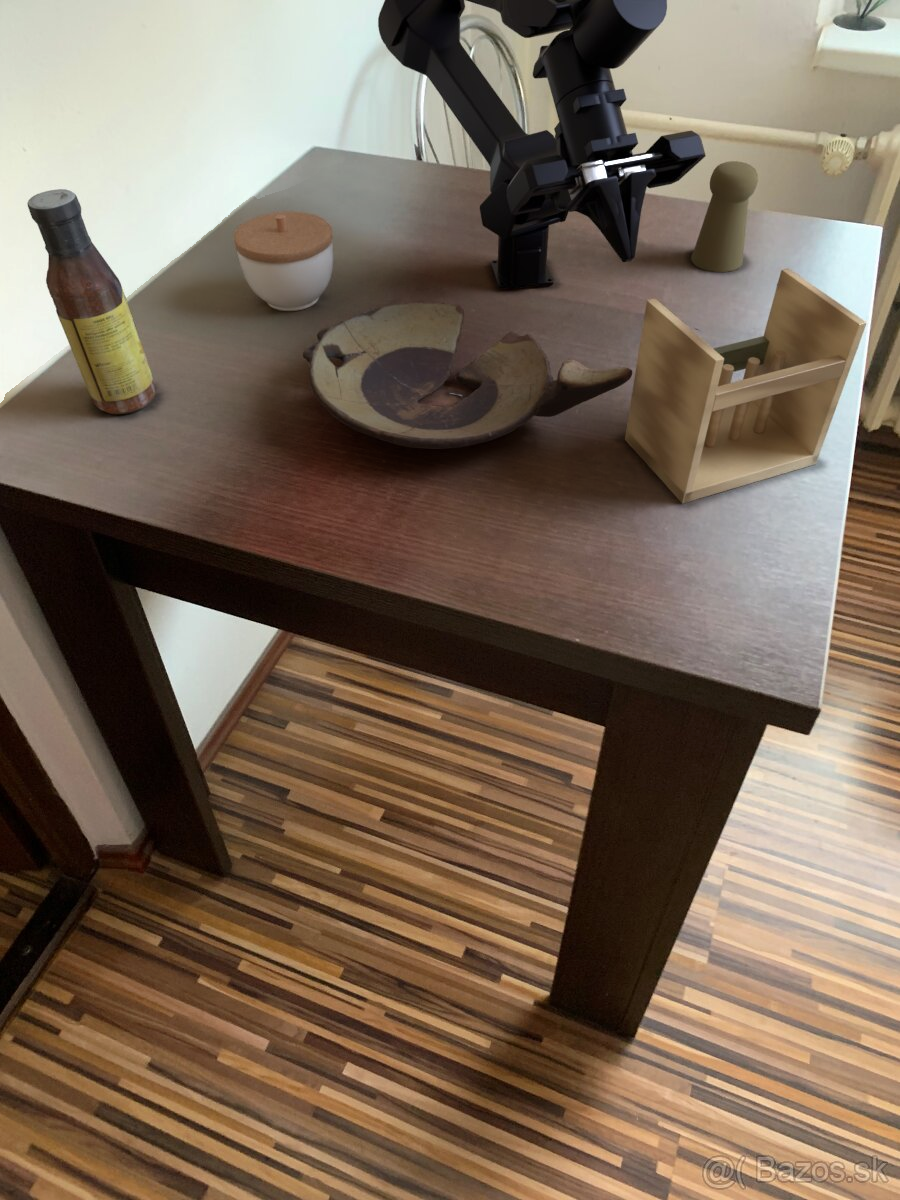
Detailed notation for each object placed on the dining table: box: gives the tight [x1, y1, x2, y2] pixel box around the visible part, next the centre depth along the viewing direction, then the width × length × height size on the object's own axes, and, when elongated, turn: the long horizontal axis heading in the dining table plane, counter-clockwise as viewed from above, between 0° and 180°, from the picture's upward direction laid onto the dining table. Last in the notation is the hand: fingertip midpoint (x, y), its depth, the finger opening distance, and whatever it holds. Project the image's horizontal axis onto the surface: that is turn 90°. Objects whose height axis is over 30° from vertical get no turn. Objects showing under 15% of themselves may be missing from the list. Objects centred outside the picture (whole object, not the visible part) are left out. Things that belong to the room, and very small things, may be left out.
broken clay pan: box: [302, 301, 633, 450], centre depth 83 cm, size 22×30×8 cm
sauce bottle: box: [27, 188, 156, 415], centre depth 81 cm, size 7×6×20 cm
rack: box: [624, 268, 868, 504], centre depth 76 cm, size 10×14×14 cm
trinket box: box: [233, 211, 334, 312], centre depth 98 cm, size 11×11×9 cm
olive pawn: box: [691, 160, 759, 273], centre depth 103 cm, size 6×6×11 cm
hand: (629, 260), depth 85 cm, fingers closed
